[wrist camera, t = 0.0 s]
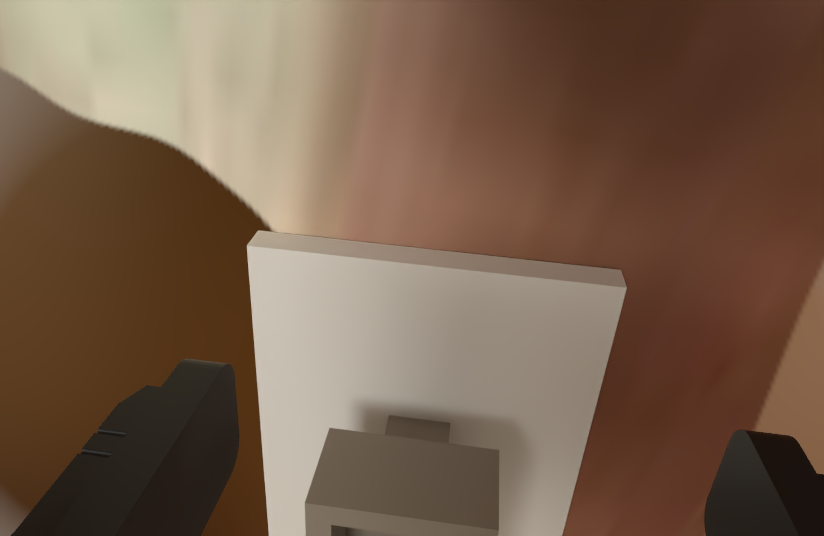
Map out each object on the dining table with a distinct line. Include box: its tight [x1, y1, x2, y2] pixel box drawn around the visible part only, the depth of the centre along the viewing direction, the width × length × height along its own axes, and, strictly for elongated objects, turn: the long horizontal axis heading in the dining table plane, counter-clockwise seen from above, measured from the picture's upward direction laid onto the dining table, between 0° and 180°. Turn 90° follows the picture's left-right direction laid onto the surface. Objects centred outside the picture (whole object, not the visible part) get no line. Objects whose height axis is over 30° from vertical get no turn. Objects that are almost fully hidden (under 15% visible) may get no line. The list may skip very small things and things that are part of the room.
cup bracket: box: [247, 231, 627, 536], centre depth 29 cm, size 20×16×9 cm
